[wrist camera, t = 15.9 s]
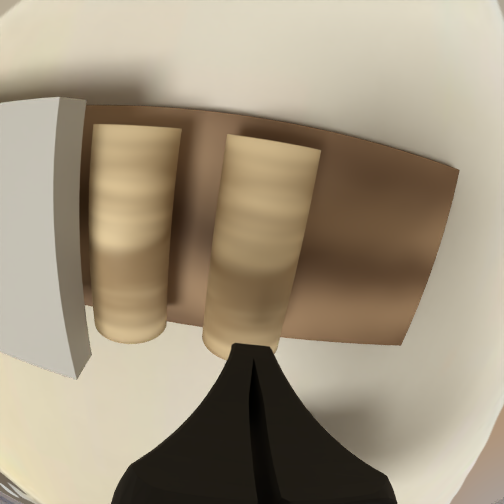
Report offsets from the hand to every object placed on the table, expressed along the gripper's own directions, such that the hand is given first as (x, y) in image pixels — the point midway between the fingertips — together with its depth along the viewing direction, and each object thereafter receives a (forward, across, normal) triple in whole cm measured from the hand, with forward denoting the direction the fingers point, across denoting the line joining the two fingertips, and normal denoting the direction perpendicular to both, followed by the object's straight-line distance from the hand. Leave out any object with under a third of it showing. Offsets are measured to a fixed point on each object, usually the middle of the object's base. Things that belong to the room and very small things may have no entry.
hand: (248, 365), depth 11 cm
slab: (+2, +14, -3) cm, 14 cm away
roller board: (+8, +6, -3) cm, 10 cm away
